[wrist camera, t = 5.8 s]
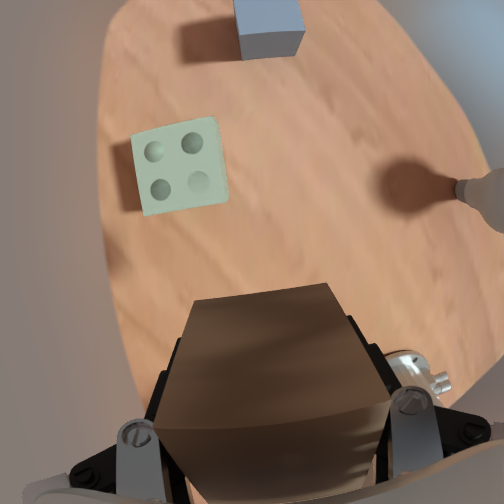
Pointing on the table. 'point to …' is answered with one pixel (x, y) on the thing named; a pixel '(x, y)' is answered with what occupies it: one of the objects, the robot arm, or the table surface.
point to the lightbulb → (485, 197)
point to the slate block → (268, 28)
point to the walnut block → (272, 399)
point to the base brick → (180, 166)
